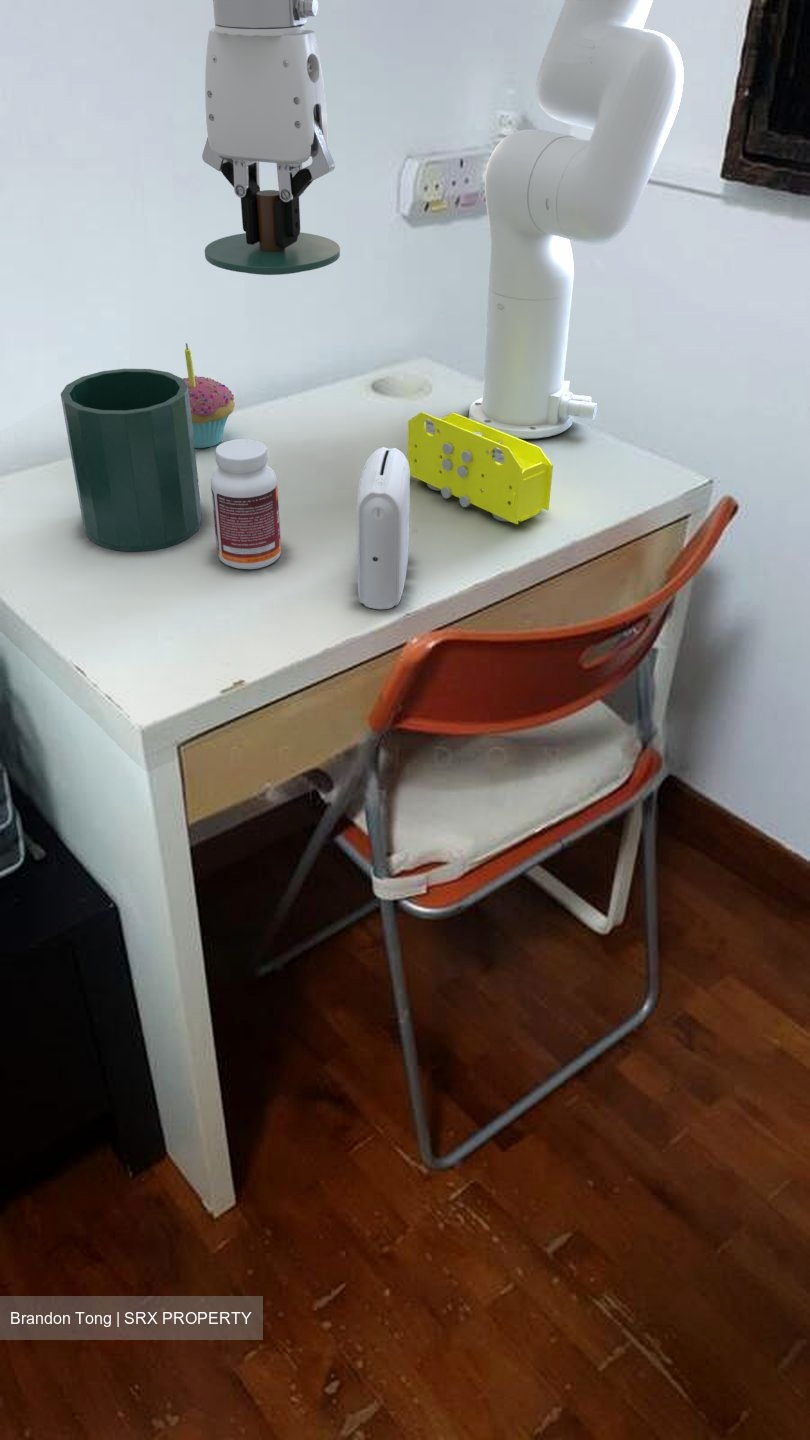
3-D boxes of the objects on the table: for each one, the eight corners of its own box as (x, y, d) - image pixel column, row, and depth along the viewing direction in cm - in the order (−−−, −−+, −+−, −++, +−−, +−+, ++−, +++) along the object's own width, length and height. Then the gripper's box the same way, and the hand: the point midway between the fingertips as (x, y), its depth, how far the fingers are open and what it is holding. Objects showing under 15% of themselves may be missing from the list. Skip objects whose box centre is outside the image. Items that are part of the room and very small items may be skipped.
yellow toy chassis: (404, 482, 125) (405, 408, 120) (441, 467, 128) (443, 395, 123) (512, 533, 115) (518, 455, 110) (550, 515, 119) (557, 439, 114)
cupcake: (231, 455, 130) (222, 350, 123) (156, 454, 130) (143, 349, 123) (241, 426, 137) (233, 325, 130) (170, 424, 137) (159, 323, 130)
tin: (209, 499, 121) (196, 369, 112) (191, 552, 111) (175, 414, 103) (99, 498, 121) (78, 367, 112) (72, 550, 111) (47, 412, 103)
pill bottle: (294, 558, 111) (288, 451, 104) (240, 578, 108) (230, 468, 101) (258, 535, 115) (251, 430, 108) (205, 553, 111) (194, 446, 105)
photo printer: (401, 612, 103) (403, 485, 96) (354, 609, 103) (352, 482, 96) (411, 557, 111) (413, 436, 104) (367, 555, 111) (366, 434, 104)
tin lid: (343, 244, 113) (342, 178, 109) (336, 282, 102) (334, 210, 99) (216, 243, 113) (210, 176, 109) (195, 280, 103) (188, 208, 99)
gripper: (365, 11, 96) (367, 242, 107) (195, 3, 101) (214, 225, 112) (329, 20, 91) (335, 262, 102) (151, 11, 95) (176, 244, 106)
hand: (272, 241), depth 106 cm, fingers closed on tin lid, 2 cm apart
